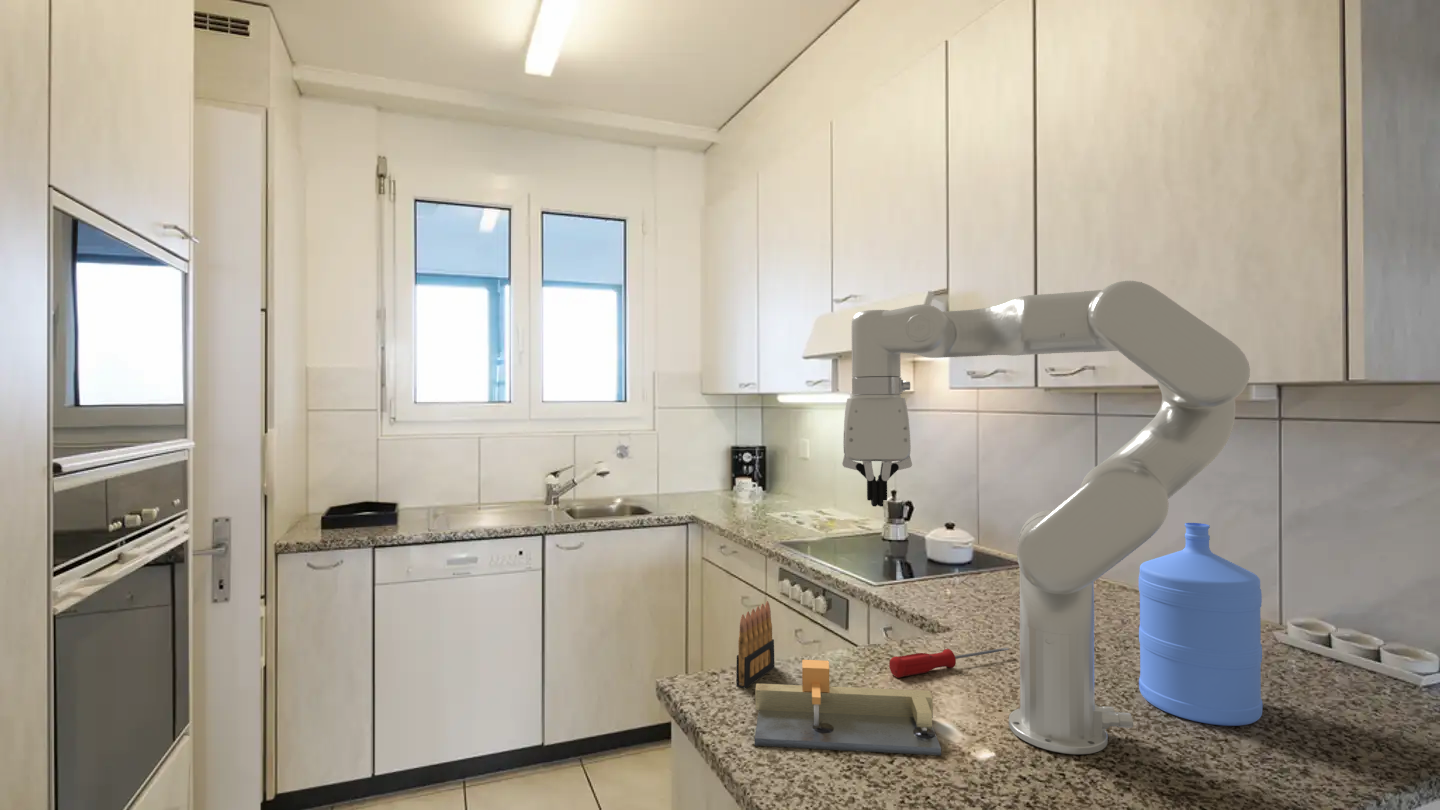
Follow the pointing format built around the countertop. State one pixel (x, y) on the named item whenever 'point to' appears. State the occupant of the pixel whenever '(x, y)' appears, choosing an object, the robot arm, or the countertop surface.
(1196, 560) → the water jug
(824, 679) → the sliding head
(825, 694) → the drilled steel plate with beam
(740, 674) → the ammunition clip
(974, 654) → the screwdriver
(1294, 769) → the countertop surface
